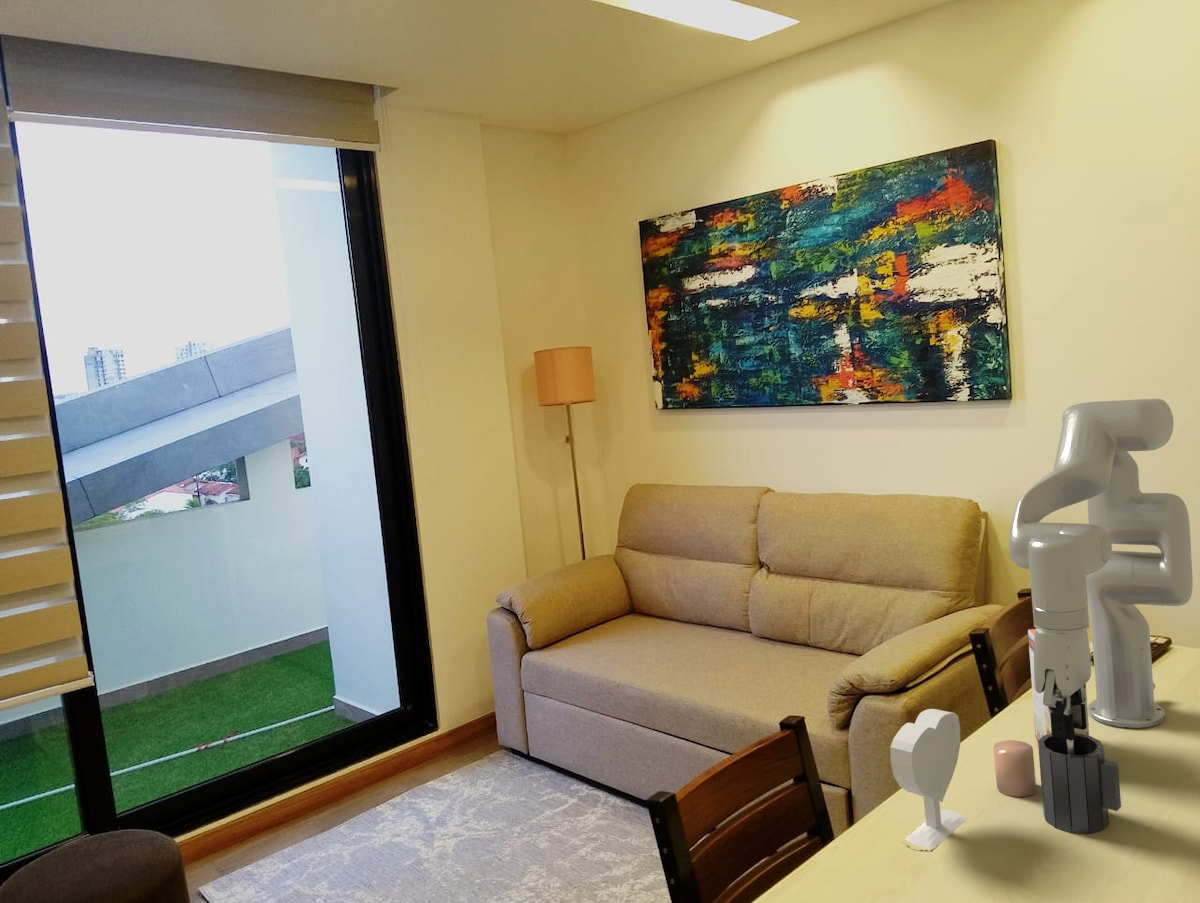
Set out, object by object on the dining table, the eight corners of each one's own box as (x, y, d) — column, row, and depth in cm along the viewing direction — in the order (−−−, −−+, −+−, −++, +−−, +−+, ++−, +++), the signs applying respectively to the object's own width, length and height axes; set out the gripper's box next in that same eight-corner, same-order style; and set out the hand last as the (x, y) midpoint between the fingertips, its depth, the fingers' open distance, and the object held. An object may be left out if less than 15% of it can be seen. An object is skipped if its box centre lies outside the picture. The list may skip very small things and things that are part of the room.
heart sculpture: (925, 857, 138) (914, 742, 136) (894, 847, 141) (883, 735, 139) (972, 812, 148) (962, 705, 146) (942, 804, 152) (932, 699, 150)
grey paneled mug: (1058, 798, 149) (1053, 727, 148) (1131, 818, 141) (1126, 743, 140) (1034, 821, 143) (1028, 748, 142) (1109, 844, 135) (1103, 766, 134)
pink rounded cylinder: (1005, 777, 158) (1002, 737, 157) (1042, 785, 154) (1038, 744, 153) (990, 791, 154) (987, 750, 153) (1027, 800, 149) (1024, 758, 149)
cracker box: (1094, 771, 156) (1085, 652, 154) (1056, 772, 157) (1046, 654, 155) (1069, 735, 169) (1061, 625, 167) (1034, 737, 171) (1025, 627, 168)
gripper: (1058, 598, 147) (1066, 708, 149) (1010, 629, 137) (1020, 747, 139) (1108, 604, 142) (1116, 718, 144) (1063, 636, 131) (1072, 759, 133)
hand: (1069, 731), depth 141 cm, fingers closed on plunger, 3 cm apart
